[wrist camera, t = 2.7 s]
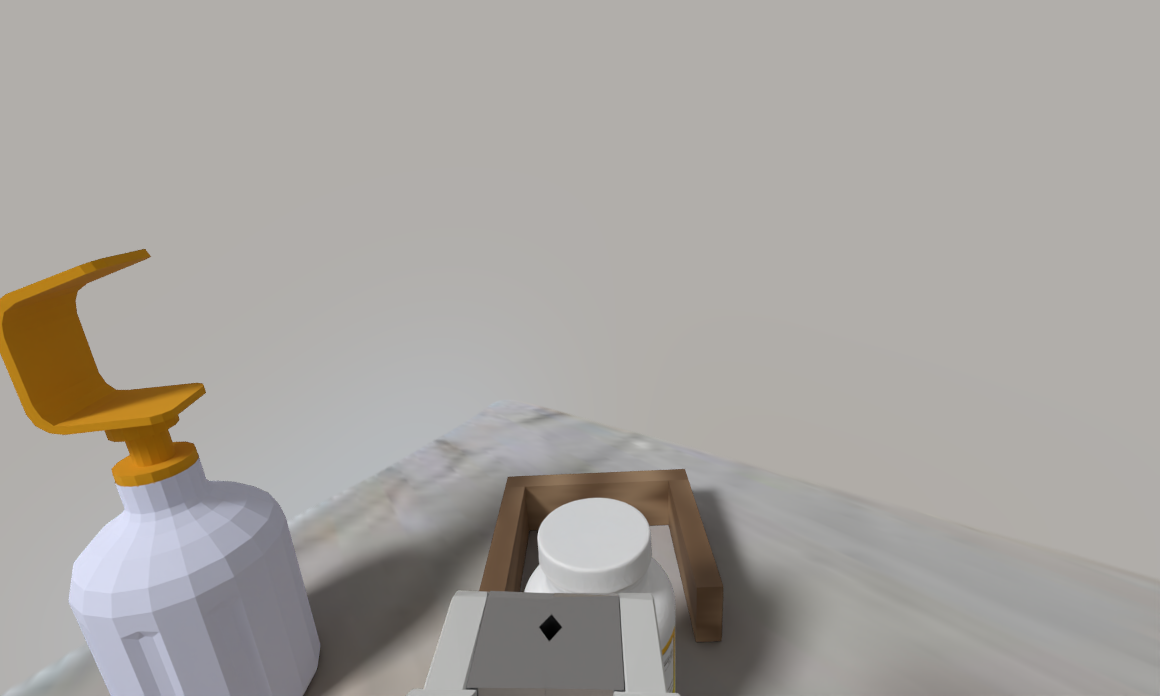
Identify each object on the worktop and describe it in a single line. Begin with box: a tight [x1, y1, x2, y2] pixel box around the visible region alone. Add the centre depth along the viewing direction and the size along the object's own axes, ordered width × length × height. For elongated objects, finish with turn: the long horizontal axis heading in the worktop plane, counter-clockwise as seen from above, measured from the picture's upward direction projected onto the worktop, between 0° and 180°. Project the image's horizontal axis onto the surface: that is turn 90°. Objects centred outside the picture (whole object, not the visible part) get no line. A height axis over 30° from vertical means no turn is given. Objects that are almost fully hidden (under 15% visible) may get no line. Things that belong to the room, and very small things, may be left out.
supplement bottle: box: [524, 498, 675, 693], centre depth 24 cm, size 7×7×13 cm
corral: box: [479, 469, 723, 642], centre depth 37 cm, size 14×12×4 cm
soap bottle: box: [0, 249, 320, 696], centre depth 27 cm, size 9×9×25 cm
